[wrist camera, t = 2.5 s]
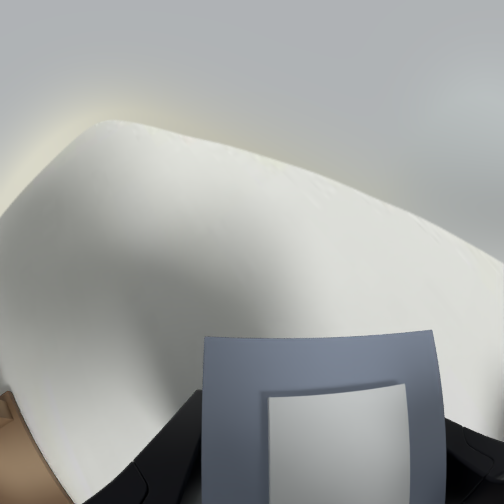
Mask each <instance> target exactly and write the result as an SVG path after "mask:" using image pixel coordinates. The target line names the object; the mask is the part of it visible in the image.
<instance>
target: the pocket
mask: <svg viewBox="0 0 504 504" xmlns="http://www.w3.org/2000/svg"><path fill="white" fill-rule="evenodd" d="M0 504H74V503H73V502H72V500H71V499H70V497H69V496H68V495H67V493H66V492H65V490H64V489H63V488H62V486H61V485H60V483H59V482H58V480H57V479H56V477H55V475H54V474H53V472H52V471H51V469H50V468H49V466H48V464H47V463H46V461H45V459H44V458H43V456H42V454H41V452H40V451H39V449H38V447H37V445H36V443H35V441H34V439H33V438H32V436H31V434H30V432H29V430H28V428H27V426H26V424H25V422H24V419H23V417H22V415H21V413H20V411H19V409H18V406H17V404H16V402H15V399H14V397H13V394H12V392H10V391H7V392H5V393H4V394H2V395H1V396H0Z"/></svg>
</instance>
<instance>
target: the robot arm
mask: <svg viewBox="0 0 504 504" xmlns="http://www.w3.org/2000/svg"><path fill="white" fill-rule="evenodd" d="M202 391H203V390H196V391H195V392H194V393H193V395H192V396H191V397H190V398H189V399H188V400H187V402H186V403H185V404H184V405H183V406H182V407H181V408H180V409H179V411H178V412H177V413H176V414H175V415H174V416H173V417H172V418H171V420H170V421H169V422H168V423H167V424H166V425H165V426H164V427H163V428H162V430H161V431H160V432H159V433H158V434H157V435H156V436H155V437H154V438H153V439H152V440H151V442H150V443H149V444H148V445H147V446H146V447H145V448H144V449H143V450H142V451H141V452H140V453H139V454H138V455H137V457H136V458H135V459H134V460H133V462H131V463H130V464H129V465H128V466H127V467H126V468H125V469H124V470H123V471H122V472H121V473H120V474H119V475H118V476H117V477H116V478H115V479H114V480H113V481H111V482H110V483H109V484H108V485H107V486H105V487H104V488H103V489H102V490H100V491H99V492H98V493H96V494H95V495H94V496H92V497H91V498H90V499H88V500H87V501H85V502H84V503H82V504H202V463H201V454H202ZM445 432H446V493H445V504H504V442H502V441H499V440H496V439H493V438H490V437H487V436H484V435H482V434H480V433H477V432H475V431H472V430H470V429H468V428H466V427H462V425H459V424H457V423H455V422H453V421H451V420H449V419H447V418H445Z"/></svg>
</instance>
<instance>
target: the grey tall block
mask: <svg viewBox="0 0 504 504" xmlns="http://www.w3.org/2000/svg"><path fill="white" fill-rule="evenodd" d="M201 463H202V504H445V493H446V432H445V417H444V405H443V395H442V387H441V379H440V372H439V365H438V359H437V353H436V347H435V342H434V337H433V332H432V330H425V331H416V332H406V333H395V334H383V335H369V336H353V337H331V338H227V337H205V340H204V363H203V391H202V454H201Z"/></svg>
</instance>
